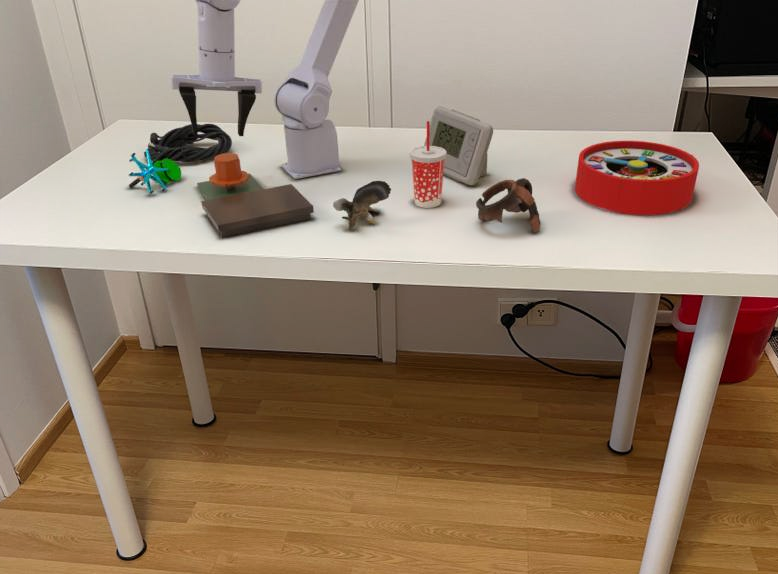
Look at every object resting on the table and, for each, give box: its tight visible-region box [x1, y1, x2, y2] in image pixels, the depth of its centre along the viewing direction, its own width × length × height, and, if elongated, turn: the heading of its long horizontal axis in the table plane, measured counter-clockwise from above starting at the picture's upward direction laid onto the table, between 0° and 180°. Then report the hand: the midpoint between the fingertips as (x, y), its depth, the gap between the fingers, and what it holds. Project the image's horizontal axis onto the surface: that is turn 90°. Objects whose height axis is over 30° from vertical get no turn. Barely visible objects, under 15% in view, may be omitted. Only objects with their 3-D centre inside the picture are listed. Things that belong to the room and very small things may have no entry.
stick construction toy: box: [128, 149, 182, 195], centre depth 136 cm, size 12×7×8 cm
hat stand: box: [196, 173, 264, 200], centre depth 132 cm, size 10×10×6 cm
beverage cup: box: [409, 120, 446, 209], centre depth 125 cm, size 6×6×14 cm
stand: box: [200, 183, 315, 239], centre depth 124 cm, size 16×11×2 cm
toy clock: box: [574, 140, 700, 216], centre depth 129 cm, size 20×6×20 cm
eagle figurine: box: [332, 180, 392, 231], centre depth 121 cm, size 8×7×9 cm
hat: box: [208, 152, 250, 186], centre depth 132 cm, size 7×7×4 cm
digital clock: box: [423, 105, 494, 186], centre depth 137 cm, size 16×9×11 cm, turn 23°
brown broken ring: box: [475, 177, 541, 234], centre depth 120 cm, size 12×10×8 cm
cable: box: [143, 123, 233, 163], centre depth 150 cm, size 17×14×4 cm
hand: (218, 134), depth 128 cm, fingers open, 7 cm apart
